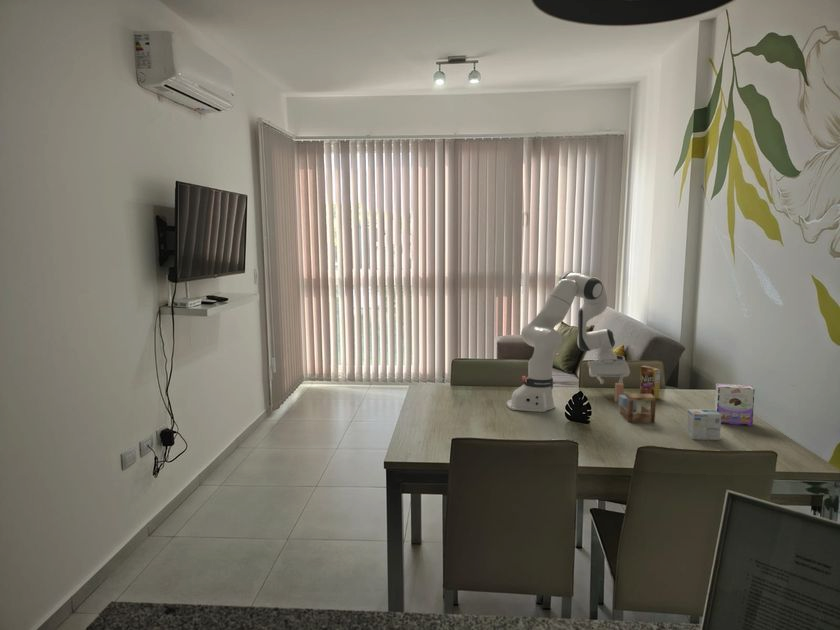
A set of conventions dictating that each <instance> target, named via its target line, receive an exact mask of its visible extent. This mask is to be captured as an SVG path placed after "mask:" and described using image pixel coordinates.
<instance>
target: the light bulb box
mask: <svg viewBox="0 0 840 630" xmlns="http://www.w3.org/2000/svg"><path fill="white" fill-rule="evenodd" d="M686 423H687V424H686V435H687V436H688V437H689V438H690V439H692V440H704V441H705V440H707V441H708V440H710V441H720V440H721V427H722V426H721V425H722V423H721V414H720V413H719V412H717V411H716V410H715V408H714V409H712V408H711V409H710V408H709V409H708V408H707V409H705V408H704V409H700V408H699V409H698V408H697V409H696V408H694V409H692V408H688V409H687V419H686Z"/></svg>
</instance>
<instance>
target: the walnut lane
mask: <svg viewBox="0 0 840 630" xmlns="http://www.w3.org/2000/svg"><path fill="white" fill-rule="evenodd" d="M624 395H625V396H626V397H627V398H628V399H629V403H628V409H627V408H626V407H625V406H624V405H620V408H619V414H620V415H621V416H622V417H623V418H624V419H625V420H626V421H627V422H628V423H630V424H631V423H637V424H639V423H645V424H646V423H647V424H648V423H653V424H654V423H655V421H656V403H657V399H656V397H654V396H653V395H652V394H640V393H625V394H624ZM633 400H636V401H650V408H649V407H647V406H646V405H644V404H643V405H641V406H640V409H641V410H640V412H634V411H633Z"/></svg>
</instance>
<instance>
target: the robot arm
mask: <svg viewBox="0 0 840 630" xmlns="http://www.w3.org/2000/svg"><path fill="white" fill-rule="evenodd" d="M575 297H576V298H581V299H583V305H582V307H580V308H579V310H578V316H577V317H578V322H577V324H578V325H577V338H576V343H577V347H578V349H579V350H580V351H583V352H586V353H587V352H589V351H594V350H595V352H596V353H597V355H596V358H597V359H595V360H594V359H593V360H592V359H591V360H589V361H587V366H588V374H589V377H591V378H596V379H597V380H598V381H599V383H600V384H601V385H604V383H605V379H603V378H605V377H607V378H609V377H610V378H619V380H618V383H622V384H624V381H623V380H624V378H627V377H629V376H630V374H631V370H630V368H629V364H628V362H627V361H626V358H625V356H622V355H619V354H616V353H615V352H614V351H613V350H614V347H615V344H616V341H615V339H614V333H613V332H612V330H610V329H608V328H604V329H598V330H592V331H587V324H588V322H589V321H590V320H591V319H592V320H593V318H595V317H598V316H599V315H601V314H602V313H604V312H605V310H606V309H607V307H608V298H607V291H606V287H605V285H604V284H603V281H602V279H600V278H599V277H595V276H593V277H592V276H589V275H587V274H585V273H580V272H574V271H565V272H564V273H563V274H562V275H561V276H560V277H559V280H558V282H557V283H556V284H555V285H554V287H553V289H551V292H550V294H549V296H548V297H547V299H546V301H545V303H544V305H543V306H542V308H541V310H540V311H539V312H538V314H537V315H536V316H535V317H534V318H533V319H532V320H531V321H530V322H529V323H528V324H526V325H524V326H523V327H522V328H521V329H522V330H521V332H520V336H521V339H522V341H523V342H524V343H526V344H527V345H528V346H529V347H533V349H534V350H533V353H532V356H531V357H530V359H529V360H528V368H527V369H528V373H527V374H528V375H527V376H526V375H522V377H521V380H522V381H523V384H522V385H521V386H519V387H518V388H516V389H515V390H514V391H513V393H512V395H511V399H509V400H507V401H506V406H507V407H508V408H509V409H510V410H512V411H521V412H524V411H525V412H540V413H544V412H547V411H549V410H553V409H554V408H555V407H556V405H555V401H554V397H553V396H554V395H553V390H554V389H553V388H554V378H553V362H554V358H555V355H556V352H557V351H558V350H559V349H560V348H561V347H562V344H563V337H562V334H561V333H560V332H559V331H558V330H556V329H554V328H556V326H557V325H559V324H560V323H562V322H563V321H564V320H565V317H566V316H567V314H568V312H569V310H570V309H571V306H572V305H573V302H574V299H575Z"/></svg>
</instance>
